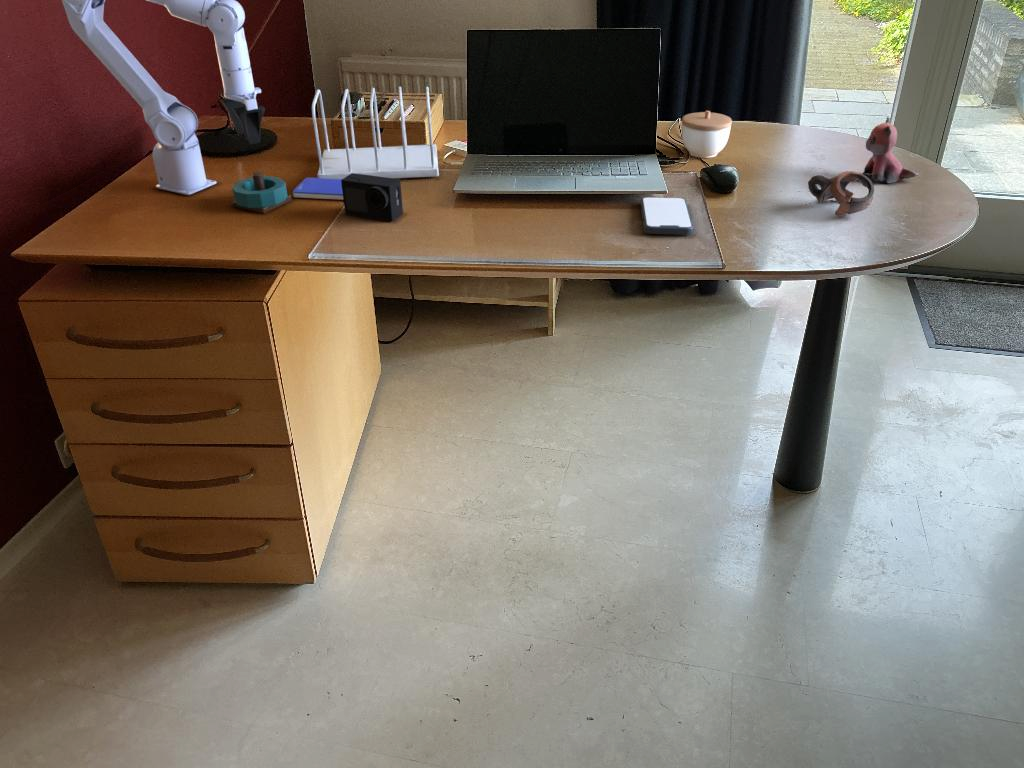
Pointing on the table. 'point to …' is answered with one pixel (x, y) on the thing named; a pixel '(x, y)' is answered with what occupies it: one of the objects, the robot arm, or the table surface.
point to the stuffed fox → (885, 155)
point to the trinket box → (705, 133)
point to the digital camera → (372, 197)
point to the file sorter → (375, 150)
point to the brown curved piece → (841, 191)
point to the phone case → (666, 216)
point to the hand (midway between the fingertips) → (248, 138)
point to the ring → (259, 193)
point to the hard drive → (319, 189)
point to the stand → (259, 186)
